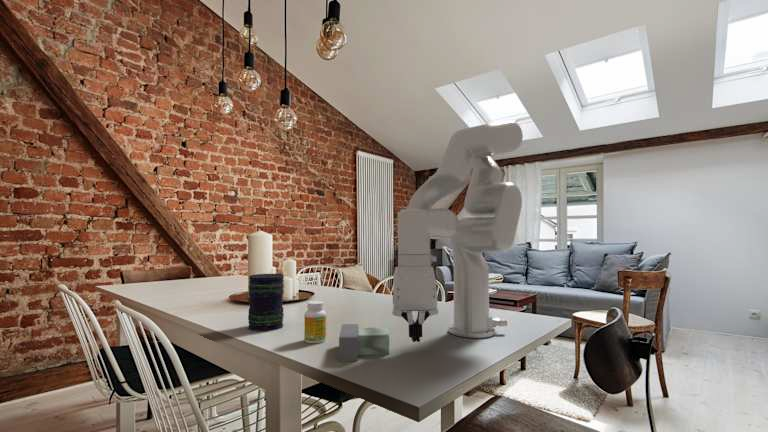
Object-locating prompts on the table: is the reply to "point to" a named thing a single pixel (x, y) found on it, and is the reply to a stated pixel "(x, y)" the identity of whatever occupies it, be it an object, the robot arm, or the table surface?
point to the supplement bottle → (315, 323)
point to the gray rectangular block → (348, 342)
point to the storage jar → (266, 302)
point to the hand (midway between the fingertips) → (415, 340)
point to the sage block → (373, 341)
